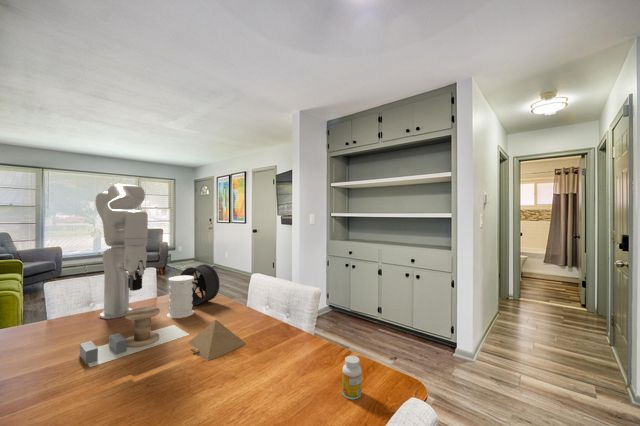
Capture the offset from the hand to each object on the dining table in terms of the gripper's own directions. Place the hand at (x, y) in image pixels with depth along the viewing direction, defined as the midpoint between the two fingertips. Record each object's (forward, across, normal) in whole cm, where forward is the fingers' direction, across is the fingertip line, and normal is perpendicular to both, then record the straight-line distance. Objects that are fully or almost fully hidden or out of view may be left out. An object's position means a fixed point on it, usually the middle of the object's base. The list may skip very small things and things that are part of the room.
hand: (135, 287), depth 112 cm
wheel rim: (+19, -18, +37) cm, 45 cm away
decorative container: (+19, -6, +22) cm, 30 cm away
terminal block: (+18, +11, -13) cm, 24 cm away
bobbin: (+18, +10, -1) cm, 20 cm away
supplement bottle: (+18, +86, +25) cm, 91 cm away
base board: (+19, +11, -2) cm, 22 cm away
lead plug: (+1, 0, 0) cm, 1 cm away
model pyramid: (+19, +31, +16) cm, 40 cm away
